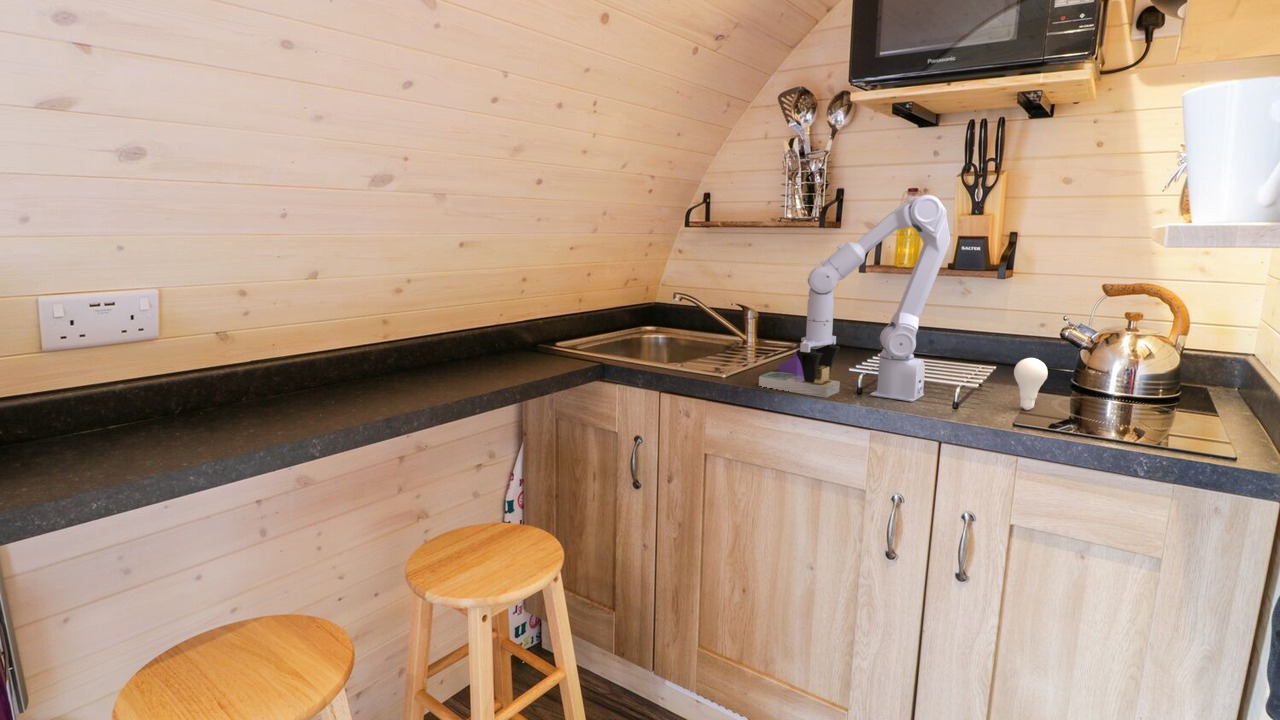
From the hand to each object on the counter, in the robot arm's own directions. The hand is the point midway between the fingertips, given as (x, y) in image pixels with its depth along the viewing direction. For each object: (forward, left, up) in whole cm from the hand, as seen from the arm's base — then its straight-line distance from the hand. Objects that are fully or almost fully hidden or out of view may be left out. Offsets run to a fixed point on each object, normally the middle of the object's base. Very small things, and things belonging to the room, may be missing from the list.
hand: (816, 379), depth 163 cm
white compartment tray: (+4, 0, -3) cm, 5 cm away
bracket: (+12, -16, -4) cm, 21 cm away
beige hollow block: (0, 0, -3) cm, 3 cm away
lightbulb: (-41, -13, -3) cm, 43 cm away
